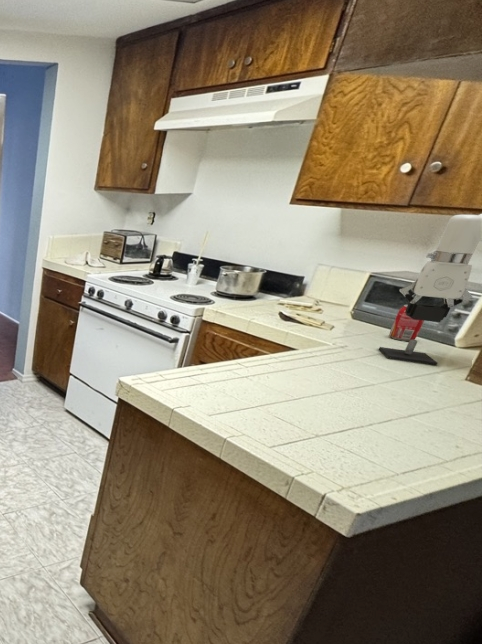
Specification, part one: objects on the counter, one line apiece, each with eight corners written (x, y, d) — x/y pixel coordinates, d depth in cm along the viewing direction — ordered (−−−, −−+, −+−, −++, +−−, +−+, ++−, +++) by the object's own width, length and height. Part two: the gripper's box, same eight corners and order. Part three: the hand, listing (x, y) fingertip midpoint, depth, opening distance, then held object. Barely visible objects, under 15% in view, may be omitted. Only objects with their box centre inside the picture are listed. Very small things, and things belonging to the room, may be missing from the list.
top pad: (433, 318, 146) (439, 305, 145) (440, 322, 142) (446, 309, 140) (406, 315, 149) (412, 303, 148) (412, 319, 145) (418, 306, 143)
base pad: (424, 356, 152) (432, 338, 150) (436, 365, 143) (445, 347, 141) (378, 349, 157) (385, 332, 155) (387, 358, 149) (395, 340, 146)
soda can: (402, 336, 173) (417, 304, 168) (420, 342, 166) (436, 309, 162) (382, 335, 173) (395, 303, 169) (399, 341, 167) (413, 308, 162)
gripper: (414, 257, 140) (389, 315, 147) (499, 263, 131) (468, 324, 138) (406, 254, 146) (382, 310, 153) (487, 260, 137) (458, 319, 144)
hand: (423, 316), depth 145 cm, fingers closed on top pad, 6 cm apart
